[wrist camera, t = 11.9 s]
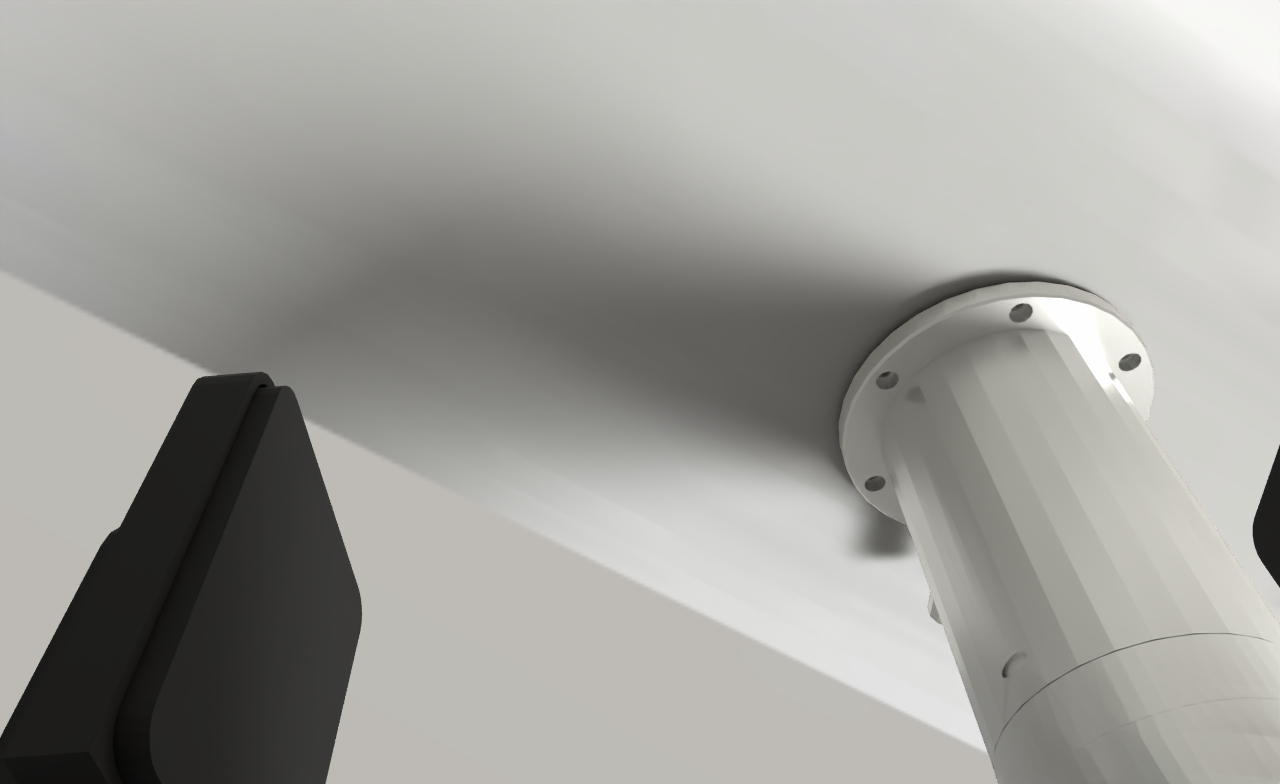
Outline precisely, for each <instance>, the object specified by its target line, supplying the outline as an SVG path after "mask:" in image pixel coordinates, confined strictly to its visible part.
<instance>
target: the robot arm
mask: <svg viewBox="0 0 1280 784" xmlns="http://www.w3.org/2000/svg"><path fill="white" fill-rule="evenodd" d="M1154 392H1155V381H1154V366H1153V364H1152V361H1151V358H1150V355H1149V352H1148V349H1147V346H1146V345H1145V343H1144V342H1143V340H1142V339H1141V337H1140V336H1139V334H1138V333H1137V331H1136V330H1135V328H1134V327H1133V326H1132V324H1131V323H1130V322H1129V321H1128V320H1127V319H1126V318H1125V317H1124V316H1123V315H1122V314H1121V313H1120V312H1119V310H1118V309H1117V308H1115V307H1114V306H1112V305H1111V304H1109V303H1107V302H1106V301H1104V300H1103V299H1101V298H1099V297H1098V296H1096V295H1094V294H1092V293H1089V292H1086V291H1083V290H1080V289H1077V288H1074V287H1071V286H1068V285H1060V284H1053V283H1046V282H1014V283H1004V284H999V285H994V286H989V287H984V288H978V289H975V290H972V291H969V292H966V293H963V294H960V295H958V296H955V297H952V298H949V299H946V300H944V301H942V302H940V303H938V304H936V305H934V306H932V307H931V308H929V309H927V310H925V311H923V312H921V313H919V314H917V315H916V316H914V317H913V318H911V319H910V320H909V321H907V322H906V323H905V324H903V325H902V326H900V327H899V328H898V329H896V330H895V331H893V332H892V333H891V334H890V335H889V336H888V337H887V338H886V339H885V340H884V341H883V342H882V343H881V344H880V345H879V346H878V347H877V348H876V349H875V350H874V351H873V352H872V353H871V354H870V355H869V356H868V358H867V359H866V361H865V362H864V363H863V365H862V366H861V368H860V369H859V370H858V372H857V373H856V375H855V376H854V378H853V380H852V382H851V384H850V387H849V389H848V391H847V393H846V395H845V398H844V400H843V405H842V409H841V414H840V419H839V444H840V448H841V451H842V455H843V459H844V462H845V466H846V469H847V471H848V473H849V475H850V477H851V480H852V482H853V484H854V486H855V487H856V488H857V490H858V491H859V492H860V493H861V494H862V496H863V497H864V498H865V499H866V501H867V502H868V503H870V504H871V505H872V506H874V507H875V508H876V509H878V510H879V511H880V512H882V513H883V514H884V515H886V516H888V517H890V518H893V519H895V520H897V521H899V522H901V523H903V524H906V525H907V526H908V529H909V532H910V534H911V537H912V540H913V543H914V546H915V548H916V551H917V554H918V557H919V560H920V563H921V565H922V568H923V571H924V574H925V577H926V579H927V582H928V585H929V588H930V596H929V602H928V611H929V614H930V616H931V617H932V618H933V619H934V620H935V621H936V622H937V623H939V624H942V625H943V627H944V630H945V633H946V636H947V639H948V642H949V644H950V647H951V650H952V653H953V656H954V659H955V661H956V664H957V667H958V670H959V673H960V675H961V678H962V681H963V684H964V687H965V690H966V692H967V695H968V698H969V701H970V704H971V706H972V709H973V712H974V715H975V718H976V721H977V723H978V726H979V729H980V732H981V735H982V738H983V740H984V743H985V746H986V749H987V752H988V754H989V757H990V760H991V763H992V766H993V769H994V772H995V776H996V779H997V782H998V784H1280V624H1279V622H1278V621H1277V619H1276V618H1275V616H1274V615H1273V613H1272V612H1271V610H1270V609H1269V607H1268V606H1267V604H1266V603H1265V601H1264V600H1263V598H1262V597H1261V595H1260V593H1259V592H1258V590H1257V589H1256V587H1255V586H1254V584H1253V583H1252V581H1251V580H1250V578H1249V577H1248V575H1247V574H1246V572H1245V571H1244V569H1243V568H1242V566H1241V565H1240V563H1239V562H1238V560H1237V559H1236V557H1235V556H1234V554H1233V553H1232V551H1231V550H1230V548H1229V547H1228V545H1227V544H1226V542H1225V541H1224V539H1223V538H1222V536H1221V535H1220V533H1219V532H1218V530H1217V529H1216V527H1215V526H1214V524H1213V523H1212V521H1211V520H1210V518H1209V517H1208V515H1207V514H1206V512H1205V511H1204V509H1203V508H1202V506H1201V505H1200V503H1199V502H1198V500H1197V499H1196V497H1195V496H1194V494H1193V493H1192V491H1191V490H1190V488H1189V487H1188V485H1187V484H1186V482H1185V481H1184V479H1183V478H1182V476H1181V475H1180V473H1179V472H1178V470H1177V468H1176V467H1175V465H1174V464H1173V462H1172V461H1171V459H1170V458H1169V456H1168V455H1167V453H1166V452H1165V450H1164V449H1163V447H1162V446H1161V444H1160V443H1159V441H1158V440H1157V438H1156V437H1155V435H1154V434H1153V432H1152V431H1151V429H1150V428H1149V426H1148V425H1147V423H1146V421H1147V419H1148V417H1149V414H1150V412H1151V407H1152V402H1153V397H1154ZM1253 540H1254V545H1255V548H1256V551H1257V554H1258V556H1259V558H1260V559H1261V561H1262V563H1263V564H1264V566H1265V567H1266V569H1267V570H1268V571H1269V573H1270V574H1271V576H1272V577H1273V579H1274V580H1275V581H1276V583H1277V584H1278V586H1279V587H1280V446H1279V449H1278V452H1277V454H1276V457H1275V460H1274V463H1273V466H1272V469H1271V472H1270V475H1269V477H1268V480H1267V483H1266V486H1265V489H1264V492H1263V495H1262V498H1261V500H1260V503H1259V506H1258V509H1257V512H1256V515H1255V518H1254V522H1253ZM361 621H362V605H361V597H360V593H359V589H358V585H357V583H356V579H355V576H354V573H353V570H352V567H351V564H350V561H349V558H348V555H347V552H346V549H345V546H344V543H343V539H342V536H341V533H340V530H339V527H338V524H337V521H336V518H335V515H334V512H333V509H332V506H331V503H330V500H329V497H328V493H327V490H326V487H325V484H324V481H323V478H322V475H321V472H320V469H319V466H318V463H317V460H316V457H315V454H314V451H313V448H312V444H311V442H310V438H309V435H308V432H307V429H306V426H305V423H304V420H303V417H302V414H301V411H300V408H299V405H298V402H297V399H296V396H295V394H294V392H293V391H292V389H291V388H290V387H288V386H277V387H275V386H274V383H273V381H272V380H271V378H270V377H269V376H268V375H267V374H266V373H263V372H254V373H242V374H229V375H217V376H205V377H202V378H199V379H197V380H196V382H195V383H194V384H193V386H192V388H191V390H190V392H189V394H188V396H187V397H186V399H185V401H184V403H183V405H182V407H181V409H180V411H179V413H178V415H177V417H176V419H175V421H174V423H173V425H172V427H171V429H170V431H169V433H168V435H167V436H166V438H165V440H164V442H163V444H162V446H161V448H160V450H159V452H158V454H157V456H156V458H155V460H154V462H153V464H152V466H151V467H150V469H149V471H148V473H147V476H146V477H145V479H144V481H143V483H142V485H141V487H140V489H139V491H138V493H137V495H136V497H135V499H134V501H133V503H132V504H131V506H130V508H129V510H128V512H127V514H126V516H125V518H124V520H123V522H122V524H121V526H120V527H119V528H118V529H116V530H114V531H113V532H111V533H110V534H109V535H108V537H107V538H106V539H105V541H104V542H103V543H102V545H101V546H100V548H99V550H98V552H97V554H96V556H95V558H94V560H93V561H92V563H91V565H90V567H89V569H88V571H87V573H86V575H85V577H84V579H83V581H82V582H81V584H80V586H79V588H78V590H77V592H76V594H75V596H74V598H73V600H72V602H71V603H70V605H69V607H68V609H67V611H66V613H65V615H64V617H63V619H62V621H61V623H60V624H59V626H58V628H57V630H56V632H55V634H54V636H53V638H52V640H51V642H50V644H49V645H48V648H47V649H46V651H45V653H44V655H43V657H42V659H41V661H40V663H39V665H38V666H37V668H36V670H35V672H34V674H33V676H32V678H31V680H30V682H29V684H28V686H27V687H26V689H25V691H24V693H23V695H22V697H21V699H20V701H19V703H18V705H17V707H16V708H15V710H14V712H13V714H12V716H11V718H10V720H9V722H8V724H7V726H6V727H5V729H4V731H3V733H2V735H1V737H0V784H325V783H326V779H327V774H328V770H329V766H330V761H331V757H332V752H333V748H334V744H335V739H336V735H337V730H338V726H339V722H340V717H341V713H342V708H343V704H344V700H345V695H346V691H347V687H348V682H349V678H350V674H351V669H352V665H353V660H354V656H355V651H356V647H357V643H358V639H359V634H360V629H361Z"/></svg>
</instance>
